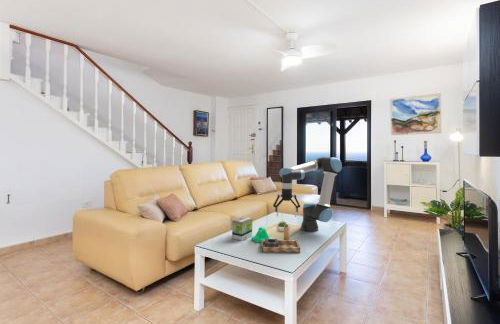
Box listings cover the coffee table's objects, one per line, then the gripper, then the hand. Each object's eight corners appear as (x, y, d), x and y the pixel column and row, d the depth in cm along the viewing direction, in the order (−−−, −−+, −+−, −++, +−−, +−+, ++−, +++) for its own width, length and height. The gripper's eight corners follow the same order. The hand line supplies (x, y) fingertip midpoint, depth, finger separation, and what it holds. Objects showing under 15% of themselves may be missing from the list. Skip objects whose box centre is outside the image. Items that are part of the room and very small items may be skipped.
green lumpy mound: (251, 240, 200) (251, 227, 200) (256, 237, 206) (256, 225, 206) (264, 244, 193) (264, 230, 193) (269, 241, 199) (269, 228, 199)
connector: (288, 241, 199) (288, 223, 198) (289, 243, 195) (289, 225, 194) (283, 241, 199) (283, 223, 198) (283, 243, 195) (284, 225, 194)
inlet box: (296, 245, 191) (296, 237, 191) (300, 252, 177) (300, 244, 177) (261, 244, 191) (261, 237, 191) (261, 252, 177) (261, 244, 177)
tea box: (242, 241, 199) (242, 222, 198) (231, 238, 204) (231, 220, 203) (252, 235, 211) (252, 217, 211) (242, 233, 217) (242, 215, 216)
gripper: (302, 187, 198) (302, 215, 199) (269, 187, 199) (269, 214, 200) (304, 189, 191) (303, 217, 192) (270, 188, 191) (270, 217, 192)
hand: (286, 216), depth 196 cm, fingers open, 13 cm apart
